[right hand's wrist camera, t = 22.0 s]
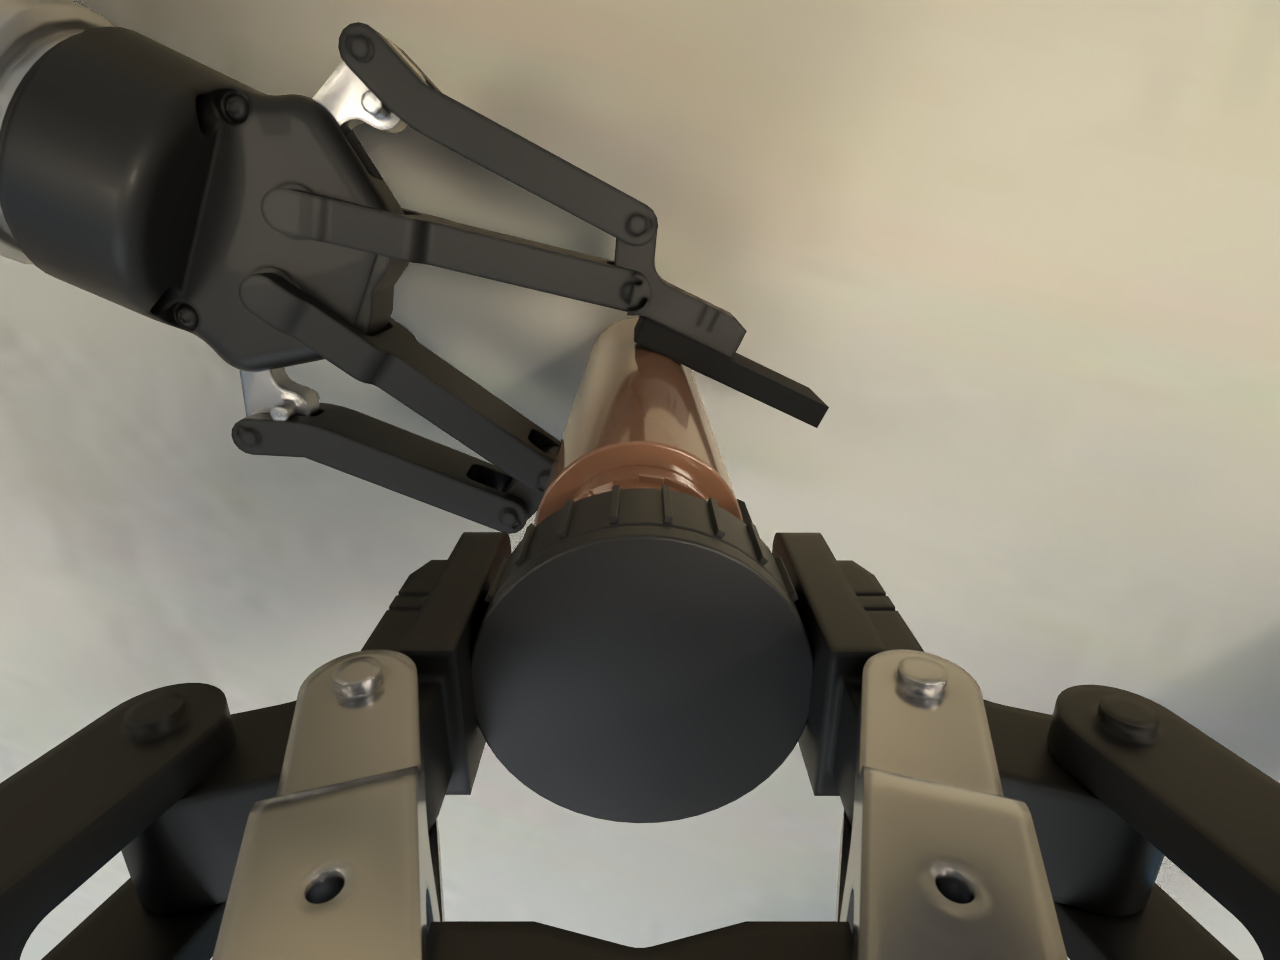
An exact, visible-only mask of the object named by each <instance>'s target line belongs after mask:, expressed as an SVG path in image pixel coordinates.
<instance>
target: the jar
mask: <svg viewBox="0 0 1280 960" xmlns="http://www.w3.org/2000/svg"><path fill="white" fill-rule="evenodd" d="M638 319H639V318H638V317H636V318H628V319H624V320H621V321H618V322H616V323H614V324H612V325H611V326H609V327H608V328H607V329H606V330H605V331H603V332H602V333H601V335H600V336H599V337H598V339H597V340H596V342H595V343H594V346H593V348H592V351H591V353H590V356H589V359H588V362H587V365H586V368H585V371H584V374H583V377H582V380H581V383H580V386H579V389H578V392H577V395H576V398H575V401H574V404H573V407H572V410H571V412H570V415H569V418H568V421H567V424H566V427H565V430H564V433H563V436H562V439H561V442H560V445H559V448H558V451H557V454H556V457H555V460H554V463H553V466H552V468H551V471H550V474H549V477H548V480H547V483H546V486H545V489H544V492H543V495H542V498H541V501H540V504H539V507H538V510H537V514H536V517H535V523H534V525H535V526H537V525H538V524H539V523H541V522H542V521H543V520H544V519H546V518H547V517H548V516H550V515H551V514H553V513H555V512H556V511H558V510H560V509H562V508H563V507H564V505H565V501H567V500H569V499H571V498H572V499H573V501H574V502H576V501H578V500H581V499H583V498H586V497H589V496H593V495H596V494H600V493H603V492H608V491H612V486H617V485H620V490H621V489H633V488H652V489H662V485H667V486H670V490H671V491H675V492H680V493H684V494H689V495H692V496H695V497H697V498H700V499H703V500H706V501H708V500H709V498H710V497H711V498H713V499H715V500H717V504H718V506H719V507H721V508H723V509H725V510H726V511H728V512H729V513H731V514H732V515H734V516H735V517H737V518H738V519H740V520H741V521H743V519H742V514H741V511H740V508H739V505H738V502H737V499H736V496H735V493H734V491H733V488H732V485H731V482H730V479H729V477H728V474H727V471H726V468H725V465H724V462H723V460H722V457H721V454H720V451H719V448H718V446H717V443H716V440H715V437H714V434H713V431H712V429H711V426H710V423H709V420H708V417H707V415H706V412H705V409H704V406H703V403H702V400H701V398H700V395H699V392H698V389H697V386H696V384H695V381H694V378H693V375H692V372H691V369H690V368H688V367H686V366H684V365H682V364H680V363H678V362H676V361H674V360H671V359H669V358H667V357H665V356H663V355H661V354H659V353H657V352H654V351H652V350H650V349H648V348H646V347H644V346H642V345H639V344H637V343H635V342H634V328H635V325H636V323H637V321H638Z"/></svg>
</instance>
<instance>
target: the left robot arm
mask: <svg viewBox="0 0 1280 960" xmlns="http://www.w3.org/2000/svg"><path fill="white" fill-rule="evenodd" d="M338 48H339V51H340V55H341V58H342V59H343V61H342V62H341V63H340V64H339V66H338V67H337V68H336V69H335V71H334V72H333V73H332V74H331V76H330V77H329V78H328V79H327V81H326V82H325V83H324V84H323V86H322V87H321V88H320V89H319V91H318V92H317V93H316V94H315V96H314V97H313V98H312V99H311V98H308V97H305V96H301V95H281V96H272V95H266V94H263V93H261V92H259V91H257V90H255V89H253V88H250V87H248V86H246V85H244V84H242V83H240V82H238V81H236V80H234V79H232V78H230V77H228V76H226V75H224V74H222V73H220V72H218V71H215V70H213V69H211V68H209V67H207V66H205V65H203V64H201V63H199V62H197V61H195V60H193V59H191V58H189V57H187V56H185V55H182V54H180V53H178V52H176V51H174V50H172V49H170V48H168V47H166V46H164V45H162V44H160V43H158V42H156V41H154V40H152V39H150V38H147V37H145V36H143V35H141V34H139V33H137V32H135V31H132V30H129V29H125V28H120V27H115V26H113V25H112V24H111V23H110V22H109V21H108V20H107V19H106V18H105V17H104V16H102V15H100V14H98V13H96V12H94V11H92V10H90V9H88V8H86V7H84V6H82V5H80V4H78V3H76V2H74V1H72V0H0V255H1V256H4V257H6V258H9V259H12V260H15V261H18V262H21V263H24V264H34V265H35V266H37V267H38V268H39V269H41V270H42V271H44V272H45V273H47V274H49V275H51V276H53V277H55V278H58V279H60V280H62V281H65V282H67V283H69V284H72V285H74V286H76V287H79V288H81V289H83V290H86V291H88V292H90V293H93V294H95V295H97V296H100V297H102V298H105V299H107V300H109V301H112V302H114V303H116V304H119V305H121V306H123V307H126V308H128V309H130V310H133V311H135V312H137V313H140V314H142V315H144V316H147V317H149V318H152V319H154V320H157V321H159V322H162V323H165V324H168V325H171V326H174V327H177V328H180V329H183V330H185V331H188V332H190V333H193V334H195V335H196V336H198V337H199V338H201V339H202V340H203V341H205V342H206V343H207V344H208V345H209V346H210V347H211V348H213V349H214V351H215V352H216V353H217V354H218V355H219V356H220V357H221V358H222V359H223V360H224V361H225V362H227V363H228V364H230V365H231V366H233V367H235V368H237V369H240V375H241V382H242V389H243V396H244V402H245V409H246V418H244V419H242V420H240V421H239V422H237V423H235V425H234V427H233V428H232V438H233V441H234V443H235V444H236V446H237V447H238V448H239V449H240V450H242V451H244V452H245V453H249V454H253V455H271V456H290V457H305V458H308V459H310V460H313V461H316V462H318V463H321V464H324V465H326V466H329V467H332V468H334V469H337V470H340V471H342V472H345V473H347V474H350V475H353V476H355V477H358V478H361V479H363V480H366V481H369V482H371V483H374V484H377V485H379V486H382V487H384V488H387V489H390V490H392V491H395V492H398V493H400V494H403V495H406V496H408V497H411V498H414V499H416V500H419V501H421V502H424V503H427V504H429V505H432V506H435V507H437V508H440V509H443V510H445V511H448V512H451V513H453V514H456V515H458V516H461V517H464V518H466V519H469V520H472V521H474V522H477V523H480V524H482V525H485V526H488V527H490V528H493V529H495V530H498V531H501V532H507V533H509V534H511V533H517V532H518V531H520V530H521V529H522V528H523V527H524V526H525V524H526V521H527V520H528V519H529V518H530V517H531V516H532V515H533V514H534V513H535V512H536V511H537V510H538V507H539V504H540V501H541V498H542V495H543V492H544V489H545V486H546V483H547V480H548V477H549V474H550V471H551V468H552V466H553V463H554V460H555V457H556V454H557V451H558V448H559V445H560V441H559V440H557V439H556V438H555V437H553V436H552V435H550V434H549V433H547V432H546V431H545V430H543V429H542V428H540V427H539V426H537V425H536V424H535V423H533V422H532V421H530V420H529V419H527V418H526V417H524V416H523V415H522V414H520V413H519V412H517V411H516V410H514V409H513V408H512V407H510V406H509V405H507V404H506V403H504V402H503V401H502V400H500V399H499V398H497V397H496V396H494V395H493V394H492V393H490V392H489V391H487V390H486V389H484V388H483V387H482V386H480V385H479V384H477V383H476V382H474V381H473V380H472V379H470V378H469V377H467V376H466V375H464V374H463V373H462V372H460V371H459V370H457V369H456V368H454V367H453V366H452V365H450V364H449V363H447V362H446V361H444V360H443V359H442V358H440V357H439V356H437V355H436V354H434V353H433V352H431V351H430V350H429V349H427V348H426V347H424V346H423V345H421V344H420V343H419V342H418V341H417V340H416V338H415V336H414V335H413V334H412V333H411V332H410V331H409V330H408V329H406V328H405V327H403V326H402V325H401V324H399V323H398V322H396V321H395V320H393V319H392V318H391V317H390V316H391V313H392V310H393V291H394V285H395V283H396V282H397V280H398V279H399V277H400V276H401V274H402V273H403V271H404V270H405V269H406V267H407V266H408V263H409V262H413V263H422V264H428V265H433V266H437V267H441V268H445V269H449V270H454V271H458V272H462V273H466V274H470V275H475V276H479V277H483V278H487V279H492V280H496V281H500V282H504V283H508V284H513V285H517V286H521V287H525V288H529V289H534V290H538V291H542V292H546V293H551V294H555V295H559V296H563V297H567V298H572V299H576V300H580V301H584V302H588V303H593V304H597V305H601V306H605V307H610V308H614V309H618V310H622V311H626V312H627V315H639V316H640V317H639V319H638V321H637V323H636V325H635V328H634V342H635V343H637V344H639V345H642V346H644V347H646V348H648V349H650V350H652V351H654V352H657V353H659V354H661V355H663V356H665V357H667V358H669V359H671V360H674V361H676V362H678V363H680V364H682V365H684V366H686V367H688V368H691V369H693V370H695V371H697V372H699V373H701V374H703V375H705V376H708V377H710V378H712V379H714V380H716V381H718V382H720V383H722V384H725V385H727V386H729V387H731V388H733V389H735V390H737V391H739V392H742V393H744V394H746V395H748V396H750V397H752V398H754V399H756V400H759V401H761V402H763V403H765V404H767V405H769V406H771V407H773V408H776V409H778V410H780V411H782V412H784V413H786V414H788V415H791V416H793V417H795V418H797V419H799V420H801V421H803V422H805V423H808V424H810V425H812V426H814V427H816V428H817V427H818V425H819V424H820V422H821V420H822V418H823V417H824V415H825V413H826V412H827V410H828V408H829V407H828V406H827V405H826V404H825V403H824V402H823V401H822V400H821V399H820V398H819V397H818V396H817V395H816V394H815V393H814V392H813V391H812V390H811V389H810V388H808V387H806V386H804V385H802V384H800V383H798V382H796V381H794V380H791V379H789V378H787V377H785V376H783V375H781V374H779V373H777V372H775V371H773V370H771V369H769V368H766V367H764V366H762V365H760V364H758V363H756V362H754V361H752V360H750V359H748V358H746V357H744V356H741V355H739V354H737V353H736V351H737V349H738V347H739V345H740V343H741V341H742V339H743V337H744V335H745V333H746V330H745V329H744V328H743V327H742V325H741V324H740V323H739V322H738V321H737V320H736V318H735V317H734V316H733V315H732V314H731V313H729V312H727V311H725V310H723V309H721V308H719V307H717V306H715V305H713V304H711V303H709V302H707V301H705V300H703V299H701V298H699V297H697V296H694V295H692V294H690V293H688V292H686V291H684V290H682V289H680V288H678V287H676V286H674V285H672V284H670V283H668V282H666V281H665V280H663V279H662V278H661V277H660V276H659V275H658V273H657V272H656V269H655V264H654V258H655V247H656V236H657V228H658V223H657V217H656V215H655V213H654V211H653V210H652V209H651V208H650V207H648V206H647V205H646V204H644V203H642V202H640V201H638V200H636V199H635V198H633V197H631V196H629V195H627V194H625V193H624V192H622V191H620V190H618V189H616V188H614V187H613V186H611V185H609V184H607V183H605V182H603V181H602V180H600V179H598V178H596V177H594V176H593V175H591V174H589V173H587V172H585V171H583V170H582V169H580V168H578V167H576V166H574V165H572V164H571V163H569V162H567V161H565V160H563V159H561V158H560V157H558V156H556V155H554V154H552V153H550V152H549V151H547V150H545V149H543V148H541V147H539V146H538V145H536V144H534V143H532V142H530V141H529V140H527V139H525V138H523V137H521V136H519V135H518V134H516V133H514V132H512V131H510V130H508V129H507V128H505V127H503V126H501V125H499V124H497V123H496V122H494V121H492V120H490V119H488V118H486V117H485V116H483V115H481V114H479V113H477V112H476V111H474V110H472V109H470V108H468V107H466V106H465V105H463V104H461V103H459V102H457V101H455V100H454V99H452V98H450V97H448V96H446V95H444V94H443V93H441V92H440V90H439V89H438V88H437V87H436V86H435V85H434V84H433V83H432V82H431V81H430V79H429V78H428V77H427V76H426V75H425V74H424V73H423V72H422V71H421V70H420V69H419V67H418V66H417V65H416V64H415V63H414V62H413V61H412V60H411V59H410V58H409V57H408V55H407V54H406V53H405V52H404V51H403V50H401V49H400V48H399V47H397V46H396V45H395V44H393V43H392V42H391V41H390V40H388V39H387V38H385V37H384V36H383V35H381V34H380V33H378V32H377V31H375V30H374V29H373V28H371V27H370V26H368V25H366V24H363V23H359V22H358V23H353V24H349V25H348V26H347V27H346V28H344V29H343V31H342V33H341V35H340V37H339V47H338ZM362 123H368V124H370V125H371V126H373V127H374V128H377V129H380V130H382V131H385V132H389V133H398V132H401V131H403V130H404V129H405V128H406V127H407V126H410V127H411V128H413V129H415V130H416V131H418V132H420V133H421V134H423V135H425V136H426V137H428V138H430V139H432V140H434V141H436V142H438V143H440V144H441V145H443V146H445V147H447V148H449V149H451V150H453V151H454V152H456V153H458V154H460V155H462V156H464V157H466V158H468V159H469V160H471V161H473V162H475V163H477V164H479V165H481V166H483V167H484V168H486V169H488V170H490V171H492V172H494V173H496V174H498V175H499V176H501V177H503V178H505V179H507V180H509V181H511V182H513V183H514V184H516V185H518V186H520V187H522V188H524V189H526V190H528V191H529V192H531V193H533V194H535V195H537V196H539V197H541V198H543V199H544V200H546V201H548V202H550V203H552V204H554V205H556V206H558V207H559V208H561V209H563V210H565V211H567V212H569V213H571V214H573V215H574V216H576V217H578V218H580V219H582V220H584V221H586V222H587V223H589V224H591V225H593V226H595V227H597V228H599V229H601V230H602V231H604V232H606V233H608V234H610V235H612V236H614V237H616V248H615V261H612V260H607V259H603V258H599V257H595V256H591V255H587V254H583V253H579V252H575V251H571V250H566V249H562V248H558V247H554V246H550V245H546V244H542V243H538V242H534V241H529V240H525V239H521V238H517V237H513V236H509V235H505V234H501V233H497V232H493V231H488V230H484V229H480V228H476V227H472V226H468V225H464V224H460V223H456V222H452V221H449V220H446V219H443V218H439V217H435V216H431V215H427V214H423V213H419V212H414V211H410V210H406V209H402V208H401V207H400V205H399V204H398V202H397V201H396V199H395V197H394V196H393V194H392V193H391V191H390V189H389V188H388V186H387V185H386V183H385V182H384V180H383V178H382V177H381V175H380V174H379V172H378V170H377V169H376V167H375V166H374V164H373V163H372V161H371V159H370V158H369V156H368V155H367V153H366V151H365V150H364V148H363V147H362V145H361V144H360V142H359V140H358V139H357V137H356V136H355V134H354V132H353V131H352V129H353V128H354V127H356V126H357V125H359V124H362ZM323 359H326V360H328V361H329V362H331V363H332V364H334V365H335V366H337V367H338V368H340V369H341V370H343V371H344V372H346V373H347V374H349V375H350V376H352V377H353V378H355V379H357V380H358V381H361V382H364V383H368V384H373V385H375V386H377V387H379V388H381V389H382V390H384V391H385V392H387V393H388V394H390V395H391V396H393V397H394V398H396V399H397V400H399V401H400V402H401V403H403V404H404V405H406V406H407V407H409V408H410V409H412V410H413V411H415V412H416V413H418V414H419V415H421V416H422V417H424V418H425V419H427V420H428V421H430V422H431V423H433V424H434V425H436V426H437V427H439V428H440V429H442V430H443V431H445V432H446V433H448V434H449V435H451V436H452V437H454V438H455V439H456V440H458V441H459V442H461V443H462V444H464V445H465V446H467V447H468V448H470V449H471V450H473V451H474V452H476V453H477V454H479V455H480V456H482V457H483V458H485V459H486V460H488V461H489V462H491V463H492V464H494V465H492V464H490V463H487V462H485V461H482V460H480V459H477V458H475V457H472V456H470V455H467V454H464V453H462V452H459V451H457V450H454V449H452V448H449V447H447V446H444V445H442V444H439V443H436V442H434V441H431V440H429V439H426V438H424V437H421V436H419V435H416V434H414V433H411V432H408V431H406V430H403V429H401V428H398V427H396V426H393V425H391V424H388V423H386V422H383V421H380V420H378V419H375V418H373V417H370V416H368V415H365V414H363V413H360V412H357V411H355V410H352V409H349V408H346V407H342V406H338V405H333V404H327V403H320V402H319V394H318V393H317V392H316V391H315V390H313V389H310V388H309V387H307V386H304V385H301V384H298V383H296V382H294V381H292V380H291V379H290V378H289V377H288V375H287V374H286V372H285V369H284V367H287V366H292V365H297V364H302V363H307V362H312V361H318V360H323ZM737 502H738V505H739V508H740V511H741V514H742V519H743V522H744V523H745V524H746V525H748V524H749V523H750V522H751V523H752V521H751V518H750V515H749V513H748V510H747V508H746V505H745V502H743V501H741V500H738V499H737Z"/></svg>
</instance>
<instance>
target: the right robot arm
mask: <svg viewBox="0 0 1280 960" xmlns="http://www.w3.org/2000/svg"><path fill="white" fill-rule="evenodd" d="M772 554H773V556H774V558H775V557H777V556H780V557H781V559H782V560H783V563H784V565H785V567H786V570H787V572H788V575H789V577H790V579H791V582H792V584H793V587H794V589H795V591H796V594H797V596H798V600H796V601H794V603H795V605H796V608H797V610H798V613H799V615H800V618H801V620H802V623H803V625H804V628H805V630H806V633H807V635H808V638H809V641H810V645H811V649H812V653H813V657H814V663H813V675H812V684H811V694H810V703H809V712H808V720H807V723H806V726H805V728H804V731H803V733H802V735H801V737H800V738H799V740H798V742H799V746H800V749H801V752H802V756H803V759H804V762H805V766H806V769H807V772H808V776H809V779H810V782H811V786H812V789H813V792H814V796H840V797H841V800H842V803H843V806H844V814H843V822H842V829H841V838H840V854H839V869H838V885H837V901H836V916H835V922H743V923H739V924H735V925H731V926H728V927H724V928H720V929H716V930H712V931H709V932H705V933H701V934H697V935H694V936H690V937H686V938H682V939H679V940H675V941H671V942H667V943H663V944H660V945H656V946H652V947H647V948H633V947H628V946H624V945H620V944H617V943H613V942H609V941H605V940H602V939H598V938H594V937H590V936H586V935H583V934H579V933H575V932H571V931H568V930H564V929H560V928H556V927H552V926H549V925H545V924H541V923H537V922H445V916H444V901H443V885H442V869H441V854H440V838H439V829H438V822H437V817H438V814H439V811H440V808H441V805H442V803H443V800H444V797H445V795H470V794H471V790H472V787H473V783H474V780H475V776H476V773H477V770H478V766H479V763H480V759H481V756H482V753H483V749H484V746H485V742H486V740H485V738H484V736H483V734H482V732H481V730H480V728H479V726H478V723H477V718H476V710H475V700H474V691H473V681H472V671H471V655H472V649H473V646H474V643H475V640H476V637H477V634H478V631H479V628H480V626H481V623H482V621H483V618H484V616H485V613H486V610H487V608H488V605H489V603H488V602H486V601H485V599H486V596H487V594H488V591H489V589H490V587H491V584H492V582H493V579H494V577H495V574H496V572H497V569H498V567H499V564H500V562H501V560H502V558H503V557H504V558H506V559H509V557H510V555H511V544H510V538H509V535H508V533H507V532H464V533H463V534H462V535H461V537H460V539H459V541H458V542H457V544H456V546H455V548H454V550H453V551H452V553H451V555H450V557H449V558H448V560H431V561H430V562H428V563H427V564H425V565H424V566H422V567H421V568H419V569H418V570H416V571H415V572H413V573H412V574H410V575H409V577H408V578H407V580H406V581H405V583H404V585H403V586H402V588H401V589H400V591H399V595H398V596H396V597H395V599H394V600H393V602H392V603H391V605H390V606H389V610H387V611H386V612H385V614H384V616H383V617H382V619H381V620H380V622H379V623H378V625H377V626H376V628H375V630H374V631H373V633H372V634H371V636H370V637H369V639H368V640H367V642H366V643H365V645H364V647H363V648H362V650H361V651H359V652H354V653H350V654H347V655H344V656H341V657H339V658H336V659H334V660H332V661H330V662H328V663H326V664H324V665H322V666H321V667H319V668H318V669H316V670H315V671H314V672H313V673H311V674H310V675H309V676H308V677H307V678H306V679H305V681H304V682H303V684H302V685H301V687H300V690H299V692H298V697H297V700H296V701H293V702H289V703H285V704H281V705H276V706H271V707H266V708H261V709H257V710H252V711H247V712H242V713H237V714H232V715H230V712H229V708H228V704H227V700H226V697H225V695H224V693H223V692H222V691H221V690H220V689H219V688H217V687H215V686H212V685H209V684H203V683H183V684H176V685H170V686H166V687H162V688H158V689H155V690H152V691H149V692H146V693H143V694H141V695H138V696H136V697H134V698H131V699H129V700H127V701H125V702H123V703H122V704H120V705H118V706H117V707H115V708H113V709H112V710H110V711H109V712H107V713H106V714H104V715H103V716H101V717H100V718H98V719H97V720H95V721H94V722H92V723H91V724H89V725H88V726H86V727H85V728H83V729H82V730H80V731H79V732H77V733H76V734H74V735H73V736H71V737H70V738H68V739H67V740H65V741H64V742H62V743H61V744H59V745H58V746H56V747H55V748H53V749H52V750H50V751H48V752H47V753H45V754H44V755H42V756H41V757H39V758H38V759H36V760H35V761H33V762H32V763H30V764H29V765H27V766H26V767H24V768H23V769H21V770H20V771H18V772H17V773H15V774H14V775H12V776H11V777H9V778H8V779H6V780H5V781H3V782H2V783H0V960H20V956H21V953H22V950H23V948H24V946H25V944H26V942H27V940H28V938H29V937H30V935H31V933H32V932H33V931H34V929H35V928H36V927H37V925H38V924H39V923H40V922H41V921H42V920H43V918H44V917H45V916H46V915H48V914H49V913H50V912H51V911H52V910H53V909H54V908H55V907H56V906H58V905H59V904H60V903H61V902H62V901H63V900H64V899H66V898H67V897H68V896H69V895H70V894H71V893H73V892H74V891H75V890H76V889H77V888H78V887H79V886H81V885H82V884H83V883H84V882H85V881H86V880H88V879H89V878H90V877H91V876H92V875H93V874H94V873H96V872H97V871H98V870H99V869H100V868H101V867H103V866H104V865H105V864H106V863H107V862H108V861H109V860H111V859H112V858H113V857H114V856H115V855H116V854H117V853H119V852H120V851H122V854H123V856H124V859H125V862H126V865H127V868H128V871H129V873H130V876H131V878H130V879H129V880H128V881H126V882H125V883H124V884H123V885H122V886H121V887H120V888H119V889H118V890H117V891H116V892H114V893H113V894H112V895H111V896H110V897H109V898H108V899H107V900H106V901H105V902H104V903H102V904H101V905H100V906H99V907H98V908H97V909H96V910H95V911H94V912H93V913H92V914H90V915H89V916H88V917H87V918H86V919H85V920H84V921H83V922H82V923H81V924H80V925H78V926H77V927H76V928H75V929H74V930H73V931H72V932H71V933H70V934H69V935H68V936H66V937H65V938H64V939H63V940H62V941H61V942H60V943H59V944H58V945H57V946H56V947H54V948H53V949H52V950H51V951H50V952H49V953H48V954H47V955H46V956H45V957H44V958H42V959H41V960H210V959H211V958H212V957H213V958H212V960H1068V958H1069V959H1070V960H1239V959H1238V958H1236V957H1235V956H1234V955H1233V954H1232V953H1231V952H1230V951H1229V950H1228V949H1227V948H1226V947H1224V946H1223V945H1222V944H1221V943H1220V942H1219V941H1218V940H1217V939H1216V938H1215V937H1214V936H1212V935H1211V934H1210V933H1209V932H1208V931H1207V930H1206V929H1205V928H1204V927H1203V926H1202V925H1200V924H1199V923H1198V922H1197V921H1196V920H1195V919H1194V918H1193V917H1192V916H1191V915H1190V914H1188V913H1187V912H1186V911H1185V910H1184V909H1183V908H1182V907H1181V906H1180V905H1179V904H1178V903H1176V902H1175V901H1174V900H1173V899H1172V898H1171V897H1170V896H1169V895H1168V894H1167V893H1166V892H1165V891H1163V890H1162V889H1161V888H1160V887H1159V886H1158V885H1157V884H1156V883H1155V880H1156V878H1157V875H1158V872H1159V869H1160V866H1161V864H1162V861H1163V858H1164V855H1165V856H1166V857H1167V858H1168V859H1169V860H1171V861H1172V862H1173V863H1174V864H1175V865H1176V866H1178V867H1179V868H1180V869H1181V870H1182V871H1183V872H1184V873H1186V874H1187V875H1188V876H1189V877H1190V878H1191V879H1192V880H1194V881H1195V882H1196V883H1197V884H1198V885H1199V886H1201V887H1202V888H1203V889H1204V890H1205V891H1206V892H1207V893H1209V894H1210V895H1211V896H1212V897H1213V898H1214V899H1216V900H1217V901H1218V902H1219V903H1220V904H1221V905H1222V906H1224V907H1225V908H1226V909H1227V910H1228V911H1229V912H1231V913H1232V914H1233V915H1234V916H1235V917H1236V918H1237V919H1238V920H1239V921H1240V922H1241V923H1242V924H1243V925H1244V926H1245V927H1246V929H1247V930H1248V931H1249V932H1250V934H1251V935H1252V937H1253V938H1254V940H1255V941H1256V943H1257V945H1258V946H1259V949H1260V951H1261V953H1262V955H1263V958H1264V960H1280V783H1278V782H1277V781H1275V780H1274V779H1272V778H1271V777H1269V776H1268V775H1266V774H1265V773H1263V772H1262V771H1260V770H1259V769H1257V768H1256V767H1254V766H1253V765H1251V764H1250V763H1248V762H1247V761H1245V760H1244V759H1242V758H1241V757H1239V756H1238V755H1236V754H1235V753H1233V752H1232V751H1230V750H1229V749H1227V748H1226V747H1224V746H1223V745H1221V744H1220V743H1218V742H1216V741H1215V740H1213V739H1212V738H1210V737H1209V736H1207V735H1206V734H1204V733H1203V732H1201V731H1200V730H1198V729H1197V728H1195V727H1194V726H1192V725H1191V724H1189V723H1188V722H1186V721H1185V720H1183V719H1182V718H1180V717H1179V716H1177V715H1176V714H1174V713H1173V712H1171V711H1170V710H1168V709H1166V708H1165V707H1163V706H1161V705H1160V704H1158V703H1156V702H1154V701H1152V700H1150V699H1147V698H1145V697H1142V696H1140V695H1137V694H1134V693H1131V692H1129V691H1125V690H1121V689H1118V688H1113V687H1108V686H1101V685H1079V686H1073V687H1070V688H1067V689H1066V690H1064V691H1062V692H1061V693H1060V694H1059V696H1058V698H1057V701H1056V705H1055V708H1054V712H1053V715H1049V714H1044V713H1039V712H1034V711H1029V710H1024V709H1019V708H1014V707H1009V706H1005V705H1001V704H997V703H993V702H990V701H987V700H984V699H983V697H982V692H981V690H980V687H979V685H978V684H977V682H976V681H975V679H974V678H973V677H972V676H971V675H970V674H969V673H967V672H966V671H965V670H964V669H962V668H961V667H959V666H958V665H956V664H954V663H952V662H950V661H948V660H946V659H944V658H941V657H939V656H936V655H933V654H930V653H926V652H924V651H923V649H922V647H921V646H920V644H919V643H918V641H917V640H916V638H915V637H914V635H913V634H912V632H911V631H910V629H909V628H908V626H907V625H906V623H905V622H904V620H903V618H902V617H901V615H900V614H899V612H898V611H895V606H894V605H893V603H892V602H891V600H890V599H889V597H888V596H886V593H885V591H884V590H883V588H882V586H881V585H880V583H879V582H878V580H877V579H876V577H875V576H874V575H873V574H871V573H870V572H868V571H867V570H865V569H864V568H862V567H861V566H859V565H858V564H857V563H855V562H854V561H836V559H835V557H834V555H833V554H832V552H831V550H830V548H829V547H828V545H827V543H826V541H825V540H824V538H823V536H822V535H821V534H820V533H776V535H775V537H774V541H773V549H772ZM1067 957H1068V958H1067Z"/></svg>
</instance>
